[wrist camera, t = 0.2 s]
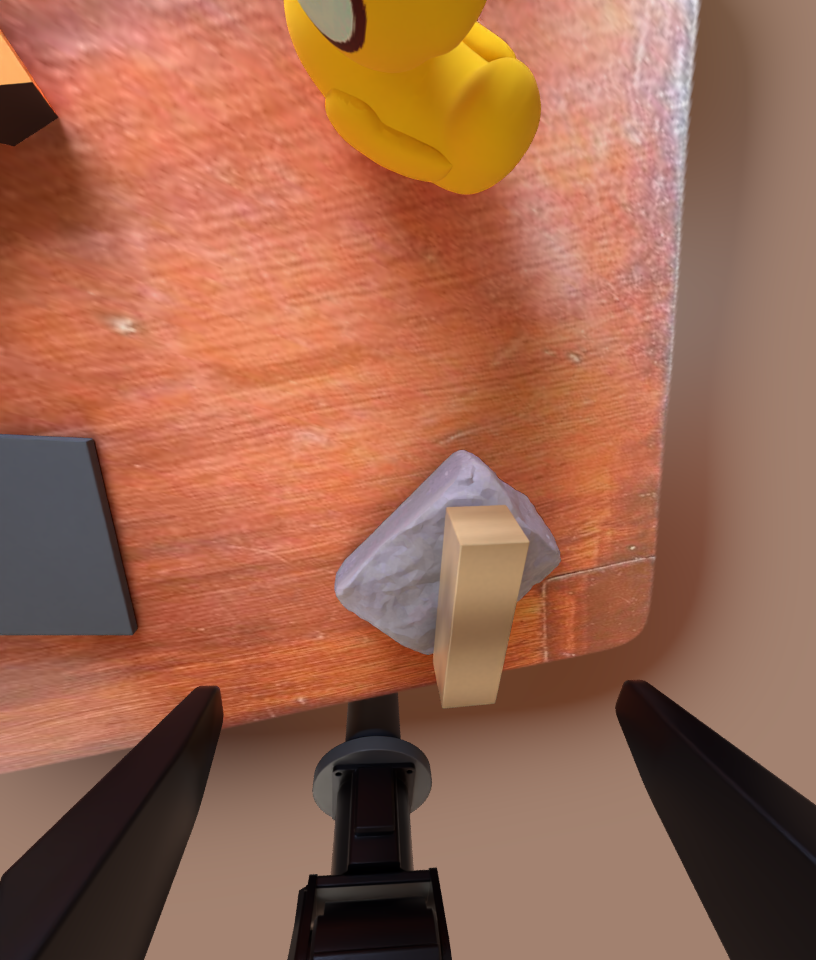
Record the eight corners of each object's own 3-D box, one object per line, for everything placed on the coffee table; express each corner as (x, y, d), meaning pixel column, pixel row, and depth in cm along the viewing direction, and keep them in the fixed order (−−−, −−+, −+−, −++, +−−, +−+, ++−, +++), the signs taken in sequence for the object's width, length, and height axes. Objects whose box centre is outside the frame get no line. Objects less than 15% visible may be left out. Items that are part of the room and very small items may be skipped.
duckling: (231, 60, 16) (27, -306, 7) (296, -98, 14) (152, -857, 5) (453, 248, 19) (528, 181, 10) (526, 134, 17) (697, -73, 8)
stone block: (549, 513, 27) (454, 429, 22) (590, 562, 23) (485, 472, 18) (428, 616, 30) (321, 562, 25) (445, 675, 26) (323, 624, 21)
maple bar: (480, 656, 24) (495, 704, 22) (432, 660, 24) (441, 709, 21) (506, 504, 19) (530, 541, 16) (445, 506, 19) (460, 544, 16)
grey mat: (138, 628, 26) (133, 635, 25) (-31, 628, 25) (-40, 635, 24) (93, 438, 21) (86, 441, 20) (-118, 428, 20) (-133, 431, 19)
